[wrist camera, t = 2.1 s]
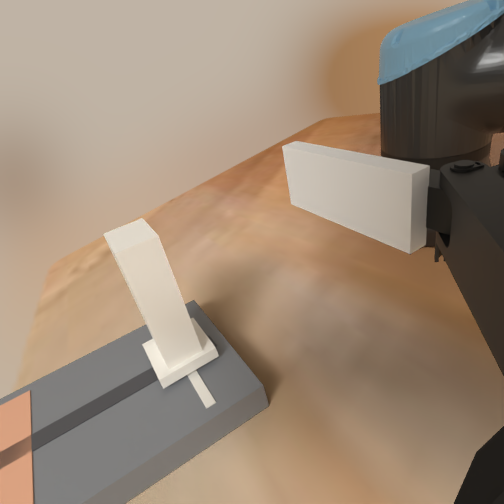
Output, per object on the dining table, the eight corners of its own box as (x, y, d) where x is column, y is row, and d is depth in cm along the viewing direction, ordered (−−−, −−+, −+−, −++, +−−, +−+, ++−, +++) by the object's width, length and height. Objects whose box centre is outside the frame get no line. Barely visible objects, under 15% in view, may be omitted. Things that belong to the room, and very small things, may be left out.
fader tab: (196, 325, 34) (152, 211, 28) (218, 356, 30) (174, 231, 24) (146, 352, 33) (88, 237, 26) (163, 388, 29) (100, 263, 22)
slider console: (200, 317, 40) (193, 299, 39) (269, 405, 29) (262, 384, 27) (-47, 449, 32) (-66, 431, 30) (-83, 644, 20) (-116, 630, 19)
